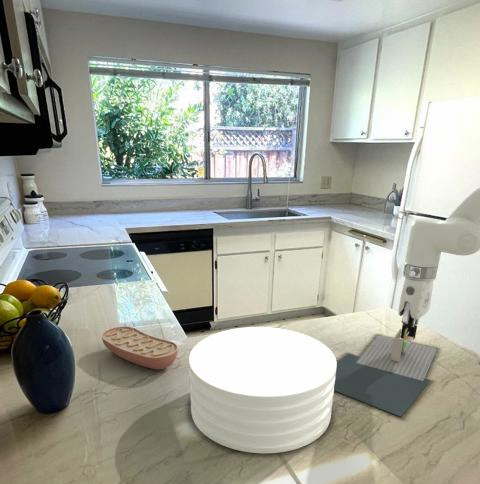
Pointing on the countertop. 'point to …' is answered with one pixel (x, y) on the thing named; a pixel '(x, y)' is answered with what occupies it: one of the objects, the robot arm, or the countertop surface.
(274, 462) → the countertop surface
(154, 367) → the mitochondrion model
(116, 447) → the countertop surface
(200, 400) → the plate stack
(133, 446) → the countertop surface
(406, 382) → the mat
